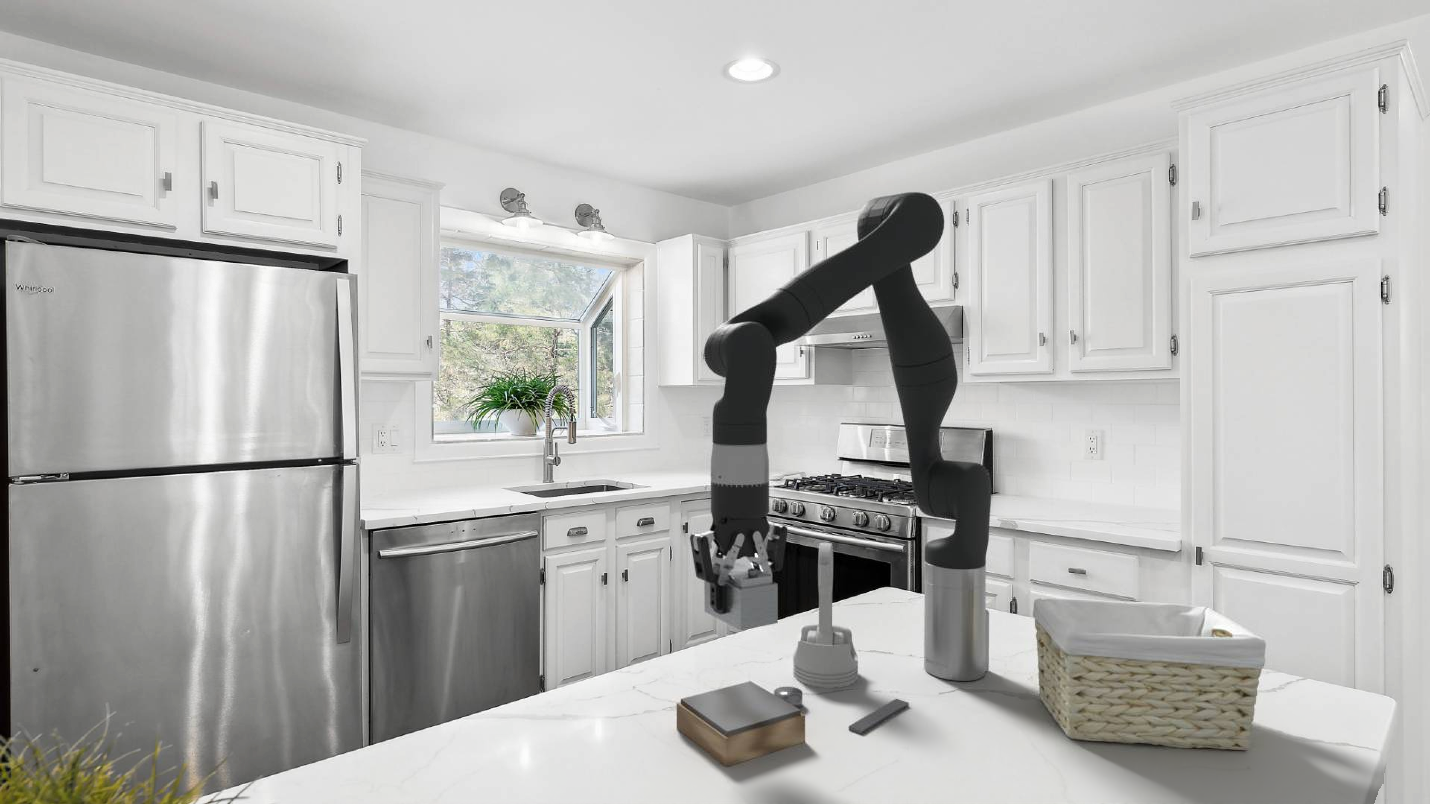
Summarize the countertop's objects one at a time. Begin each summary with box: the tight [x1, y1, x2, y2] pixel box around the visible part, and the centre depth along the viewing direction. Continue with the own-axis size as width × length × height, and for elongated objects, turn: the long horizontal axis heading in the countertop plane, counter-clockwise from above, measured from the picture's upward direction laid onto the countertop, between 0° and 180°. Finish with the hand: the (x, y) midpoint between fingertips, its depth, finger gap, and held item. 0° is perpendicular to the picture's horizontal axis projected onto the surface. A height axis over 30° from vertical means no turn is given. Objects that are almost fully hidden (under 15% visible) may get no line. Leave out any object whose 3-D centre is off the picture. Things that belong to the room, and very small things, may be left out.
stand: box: [676, 680, 806, 768], centre depth 99 cm, size 12×12×4 cm
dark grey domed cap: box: [773, 686, 803, 710], centre depth 108 cm, size 4×4×2 cm
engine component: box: [792, 542, 859, 689], centre depth 120 cm, size 11×20×10 cm
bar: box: [848, 698, 910, 735], centre depth 104 cm, size 12×2×1 cm, turn 136°
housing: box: [703, 562, 779, 631], centre depth 99 cm, size 9×6×7 cm, turn 30°
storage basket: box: [1032, 598, 1267, 751], centre depth 102 cm, size 24×16×15 cm
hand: (740, 608), depth 99 cm, fingers closed on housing, 5 cm apart
